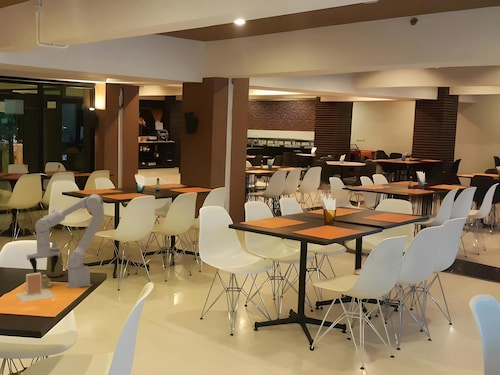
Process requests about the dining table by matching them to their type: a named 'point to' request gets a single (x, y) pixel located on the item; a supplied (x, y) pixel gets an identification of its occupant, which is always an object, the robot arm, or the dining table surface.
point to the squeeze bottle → (59, 264)
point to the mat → (35, 296)
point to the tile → (33, 283)
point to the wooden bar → (45, 282)
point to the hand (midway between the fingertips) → (44, 273)
